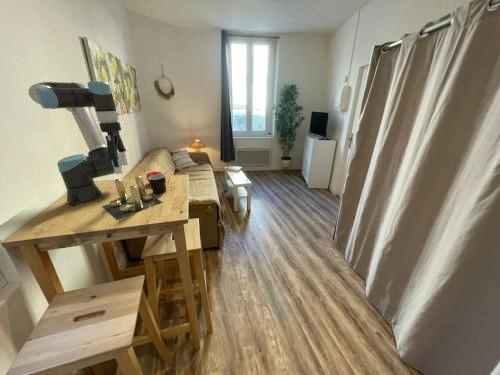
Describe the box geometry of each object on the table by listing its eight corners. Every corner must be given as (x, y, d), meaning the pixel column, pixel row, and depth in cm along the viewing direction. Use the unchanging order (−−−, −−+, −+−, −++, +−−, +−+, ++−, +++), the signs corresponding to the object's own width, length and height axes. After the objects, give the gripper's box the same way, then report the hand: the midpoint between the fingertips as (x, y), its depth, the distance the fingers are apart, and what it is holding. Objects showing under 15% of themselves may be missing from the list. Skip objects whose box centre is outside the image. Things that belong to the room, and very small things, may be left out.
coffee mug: (162, 197, 112) (159, 180, 108) (148, 196, 114) (144, 179, 110) (174, 188, 123) (171, 172, 119) (161, 188, 124) (157, 172, 120)
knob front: (119, 213, 95) (113, 191, 90) (121, 208, 99) (115, 187, 94) (142, 209, 98) (136, 187, 93) (143, 205, 101) (138, 184, 97)
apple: (163, 181, 135) (161, 169, 132) (164, 185, 127) (162, 173, 124) (148, 183, 132) (145, 171, 128) (148, 188, 124) (145, 176, 121)
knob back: (116, 207, 100) (110, 186, 96) (108, 206, 101) (101, 185, 96) (130, 198, 108) (124, 178, 104) (122, 198, 109) (116, 178, 105)
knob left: (154, 198, 108) (149, 178, 104) (145, 201, 105) (140, 181, 101) (145, 193, 114) (141, 174, 109) (137, 196, 110) (132, 177, 106)
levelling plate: (102, 208, 102) (100, 202, 101) (145, 194, 117) (143, 188, 115) (117, 222, 90) (115, 215, 89) (163, 204, 105) (162, 198, 103)
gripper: (112, 124, 80) (126, 176, 88) (124, 119, 101) (134, 161, 110) (89, 125, 78) (106, 179, 86) (106, 119, 99) (118, 163, 108)
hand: (122, 169), depth 98 cm, fingers open, 13 cm apart
